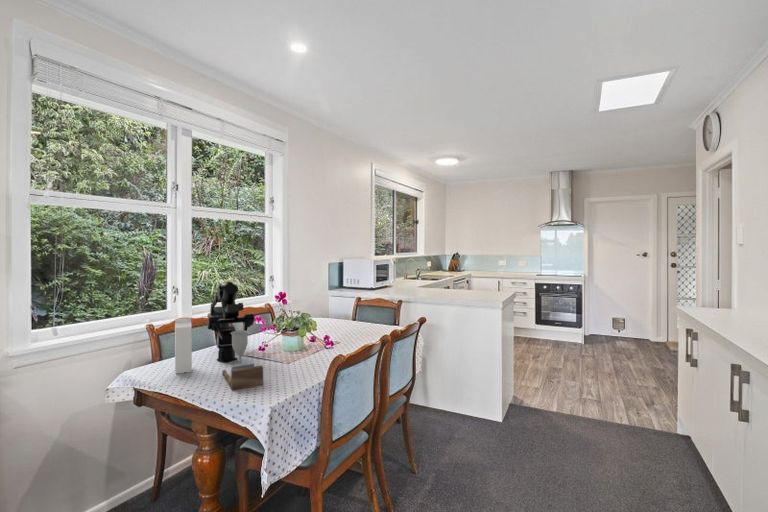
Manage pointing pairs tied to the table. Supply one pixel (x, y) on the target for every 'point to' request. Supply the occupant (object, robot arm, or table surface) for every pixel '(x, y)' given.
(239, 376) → the brown wooden u-shaped piece
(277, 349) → the table surface
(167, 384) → the table surface
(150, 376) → the table surface
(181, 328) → the milk
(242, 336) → the chalice
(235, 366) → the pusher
